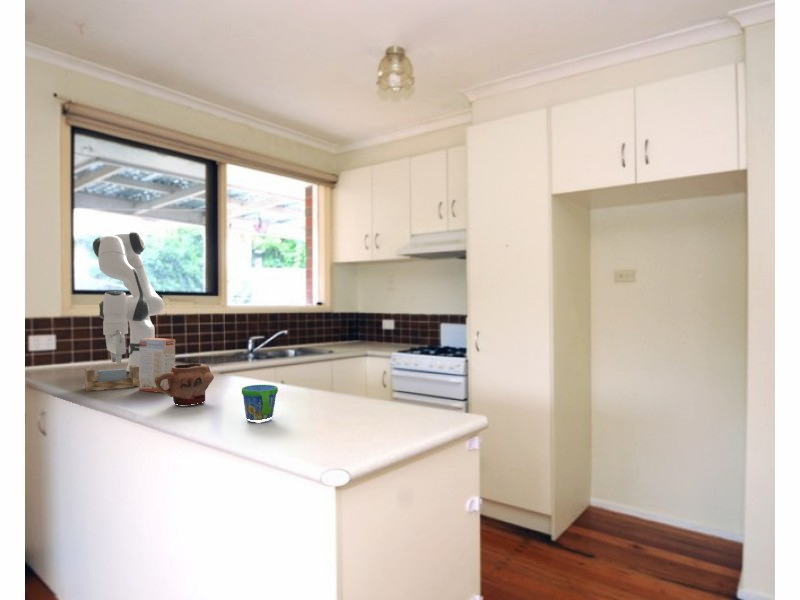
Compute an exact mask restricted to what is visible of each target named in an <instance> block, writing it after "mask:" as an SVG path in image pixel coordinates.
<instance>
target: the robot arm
mask: <svg viewBox="0 0 800 600" xmlns="http://www.w3.org/2000/svg"><path fill="white" fill-rule="evenodd" d="M92 250H93V252H94V254H95V256H96V258H97V259H98V261H97V262H98V266H99V270H100V272H101V273H103V274H104V275H105V276H107V277H109V278H111V279H115V280H119V281H121V282H122V283H123V285H124V287H125V288H126V289H127V290H128V291H129V293H130V294H131V295H127V294H126V292H125V291H121V290H108V291H105V293H104V296H103V300H102V301H101V302H100V303H98V305H99V306H98V307H99V314H98V315H99V318H101V319H102V320H103V322H102V329H103V331H102V333H103V336H105V344H106V350H107V351H108V352H109V354H110V358H111V359H110V360H111V363H115V365H116V366H120V365H122V359H123V355H125V354H126V352H127V351H126V350H127V349H126V337H125V335H127V334H128V335H129V343H128V354H129V357H128V364H127V367H126V369H127V372H128V373H130V365H137V366H139V348H140V339H143V338H156V336H155V335H156V334H155V333H156V332H155V330H156V329H155V328H156V327H155V325H154V324H153V323H152V320H151V316H155V315H156V316H157V315H159V314H160V313H162V312H163V310H164V308H165V303H164V300H163V298H162V297H161V296H159V295H158V293H156V290H155V289H154V287H153V286H152V284H151V282H150V280H149V277H148V275H147V271H146V269H145V264H144V262H143V261H144V260H143V259H142V256H141V254H142V253H143V252H144V251H145V250H146V241H145V237H143V235H142V234H141V233H140V232H138V231H129V232H119V233H114V234H110V235H107V236H106V235H105V236H100V237H97V238H95V239H94V240H93V242H92ZM127 372H126V373H127Z"/></svg>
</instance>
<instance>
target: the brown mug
mask: <svg viewBox="0 0 800 600" xmlns="http://www.w3.org/2000/svg"><path fill="white" fill-rule="evenodd" d="M164 379H168V385H169V389H168V390H164V389H162V388H161V386H160V384H161V381H162V380H164ZM214 379H215V375H214V374H213V373H212V372H211V369H210V367H209V366H208V365H207V364H204V363H188V364H178V365H177V364H175V366H173V367H172V369H171V372H169V373H164V374H161V375H160V376H159V377H158V378H157V380H156V386H157V388H158V389H159V390H160V391H161V392H163V393H162V394H164V395H166V396H168V397H170V398H173V399H172V400H173V404H174V403H175V404H178V405H191V404H197V403H202V402H204V401H205V402H206V391H207V389H208V388H209V385H210V384H212V382H213V380H214ZM205 402H204V403H205ZM175 404H174V405H175ZM202 404H203V403H202Z"/></svg>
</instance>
